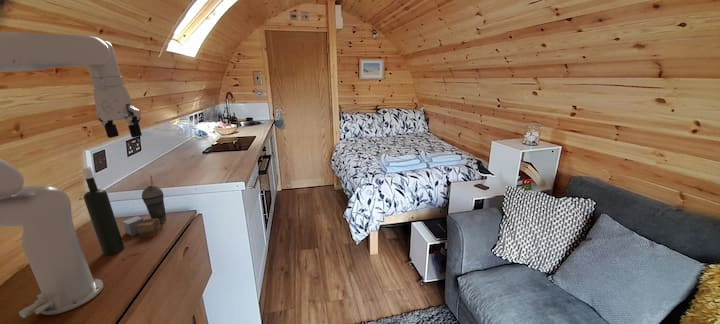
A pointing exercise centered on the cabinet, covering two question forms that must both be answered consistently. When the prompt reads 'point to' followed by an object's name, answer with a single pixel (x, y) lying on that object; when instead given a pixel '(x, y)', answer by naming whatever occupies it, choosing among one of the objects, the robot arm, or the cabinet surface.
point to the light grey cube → (132, 225)
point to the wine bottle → (102, 216)
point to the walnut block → (149, 227)
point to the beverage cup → (154, 202)
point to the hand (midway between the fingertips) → (125, 136)
